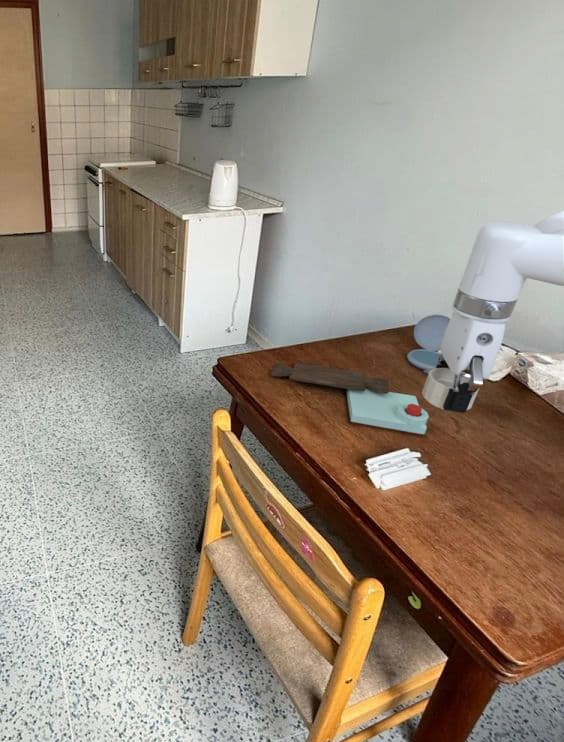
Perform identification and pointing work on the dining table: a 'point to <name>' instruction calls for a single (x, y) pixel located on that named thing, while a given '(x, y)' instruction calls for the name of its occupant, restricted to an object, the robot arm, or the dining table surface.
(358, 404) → the scale
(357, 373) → the dark wooden board
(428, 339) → the open compact mirror
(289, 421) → the dining table surface
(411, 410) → the tare button
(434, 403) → the bowl
